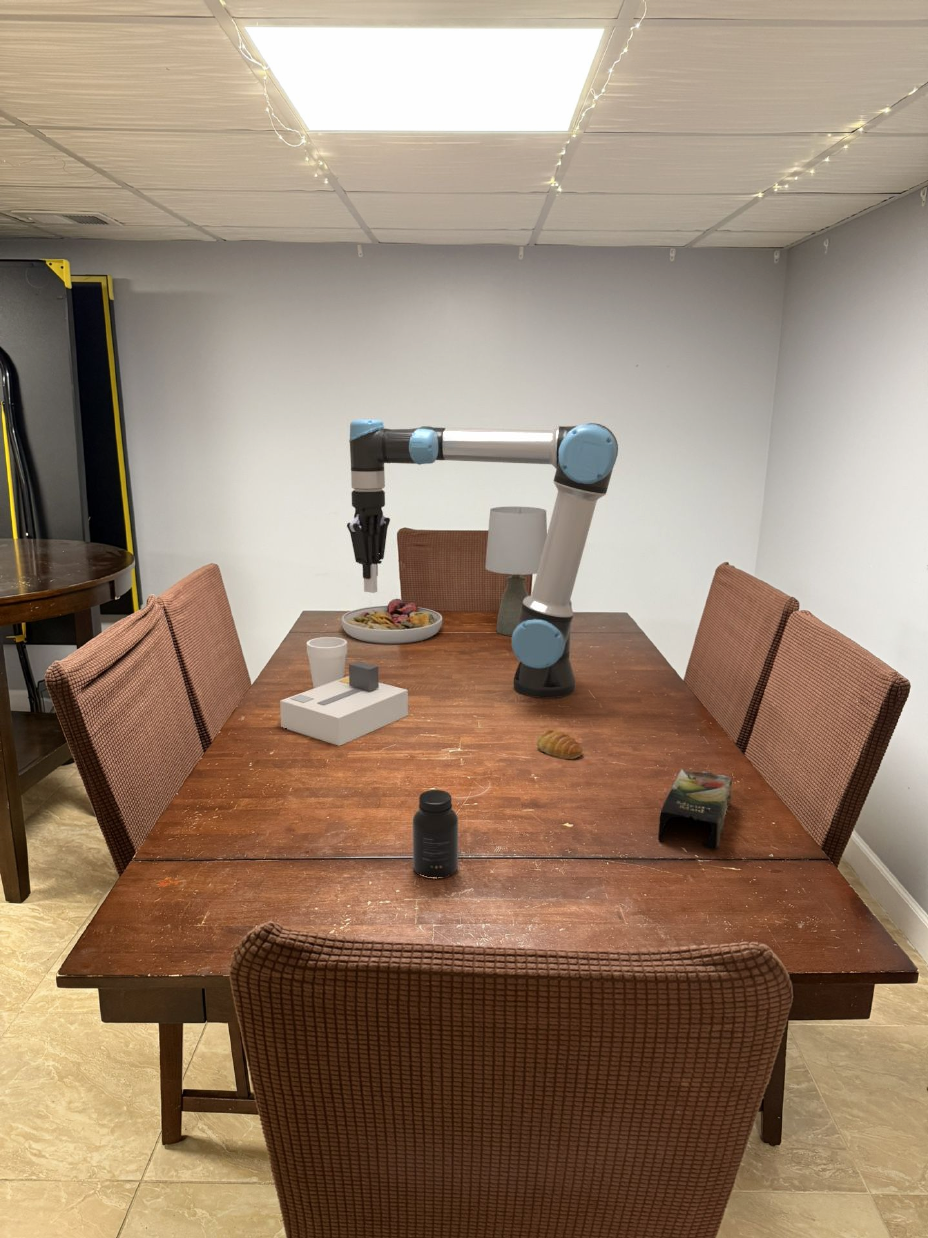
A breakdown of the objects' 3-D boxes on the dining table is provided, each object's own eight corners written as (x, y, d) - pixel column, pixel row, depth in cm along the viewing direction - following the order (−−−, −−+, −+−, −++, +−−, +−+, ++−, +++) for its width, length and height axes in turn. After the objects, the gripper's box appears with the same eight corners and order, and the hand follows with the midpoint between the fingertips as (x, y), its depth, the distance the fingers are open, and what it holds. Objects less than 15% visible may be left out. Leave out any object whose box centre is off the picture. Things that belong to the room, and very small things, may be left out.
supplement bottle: (412, 858, 136) (412, 786, 133) (456, 856, 136) (456, 785, 133) (413, 881, 129) (413, 807, 126) (459, 880, 130) (460, 806, 127)
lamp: (487, 622, 276) (490, 505, 267) (546, 625, 274) (551, 506, 264) (480, 638, 258) (482, 512, 249) (543, 641, 256) (548, 515, 246)
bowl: (440, 647, 249) (441, 621, 247) (335, 646, 249) (334, 619, 247) (443, 621, 278) (443, 597, 276) (348, 620, 278) (348, 595, 276)
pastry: (589, 755, 176) (590, 737, 175) (568, 764, 171) (568, 746, 171) (554, 742, 183) (555, 724, 182) (532, 750, 178) (533, 733, 177)
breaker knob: (378, 687, 194) (378, 666, 193) (369, 691, 192) (369, 669, 191) (358, 682, 198) (358, 661, 197) (349, 685, 195) (348, 664, 194)
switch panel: (407, 715, 196) (407, 689, 194) (339, 746, 178) (338, 717, 177) (351, 699, 205) (350, 674, 204) (281, 727, 188) (280, 699, 186)
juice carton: (675, 792, 160) (678, 761, 158) (731, 803, 156) (735, 771, 155) (654, 843, 142) (657, 809, 140) (717, 857, 138) (721, 822, 137)
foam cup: (340, 703, 203) (339, 649, 199) (302, 700, 204) (300, 646, 201) (353, 690, 212) (352, 638, 209) (316, 687, 213) (315, 635, 210)
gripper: (373, 486, 205) (375, 584, 211) (336, 491, 195) (339, 594, 200) (398, 487, 201) (400, 588, 207) (362, 493, 191) (365, 598, 197)
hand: (370, 591), depth 204 cm, fingers closed
